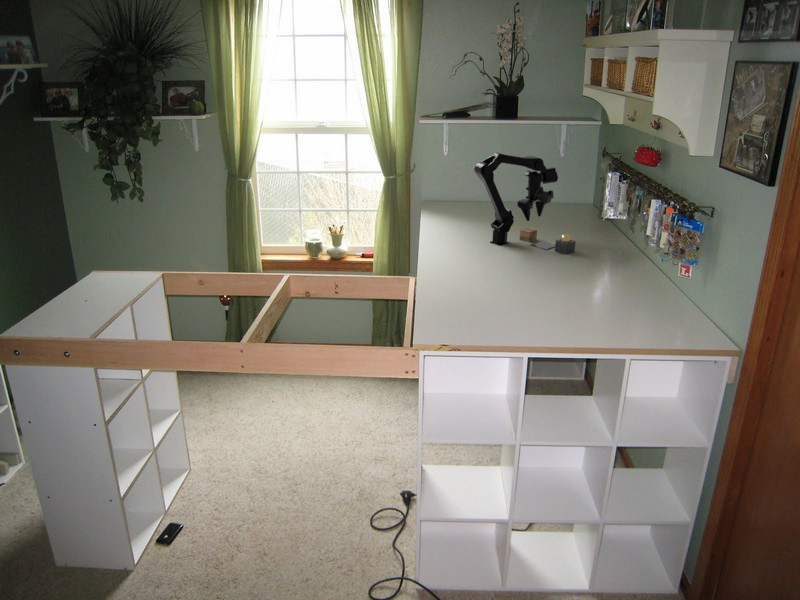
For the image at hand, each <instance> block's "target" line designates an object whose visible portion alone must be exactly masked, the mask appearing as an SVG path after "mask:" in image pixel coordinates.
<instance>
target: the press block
mask: <svg viewBox="0 0 800 600" xmlns="http://www.w3.org/2000/svg"><path fill="white" fill-rule="evenodd" d="M561 240H562V238H560V239H556V240H555V247H554V252H556V253H560V254H563V255H569V254H572V253H575V250H576V242H577V241H576V240H574V239H570V242H563V241H561Z"/></svg>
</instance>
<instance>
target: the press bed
mask: <svg viewBox="0 0 800 600" xmlns="http://www.w3.org/2000/svg"><path fill="white" fill-rule="evenodd" d="M555 244H556V243H555ZM555 244H554V243H551V242H547V241H545V240H543V241H538V242H534V243H531V244H529V246H530V247H533V248H537V249H540V250H544V251H547V250H551V249H553V248H554V249H555Z"/></svg>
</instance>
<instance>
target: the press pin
mask: <svg viewBox="0 0 800 600" xmlns="http://www.w3.org/2000/svg"><path fill="white" fill-rule="evenodd" d="M571 237H572V236H571V234H568V233H563V234H562V233H561V239H562V240H561V241H563V242H570V240H571Z"/></svg>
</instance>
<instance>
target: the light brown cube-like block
mask: <svg viewBox="0 0 800 600" xmlns="http://www.w3.org/2000/svg"><path fill="white" fill-rule="evenodd" d="M537 236H538V230H537V229H535V228H531V227H525V228H521V229H520V230H519V241H523V242H527V243H531V242H535V241H537V238H538V237H537Z"/></svg>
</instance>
